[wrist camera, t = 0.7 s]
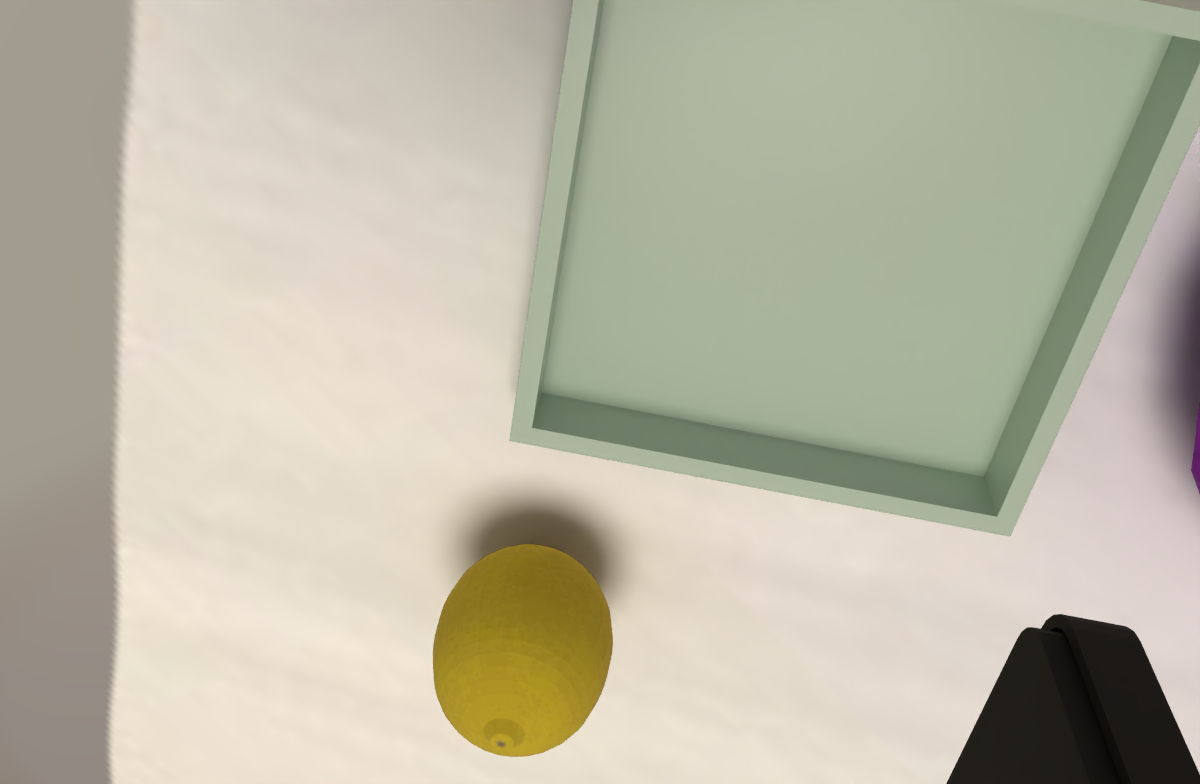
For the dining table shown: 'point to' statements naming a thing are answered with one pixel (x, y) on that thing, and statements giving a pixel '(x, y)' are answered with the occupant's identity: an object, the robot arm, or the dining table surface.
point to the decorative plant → (1197, 455)
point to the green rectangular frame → (847, 237)
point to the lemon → (522, 650)
